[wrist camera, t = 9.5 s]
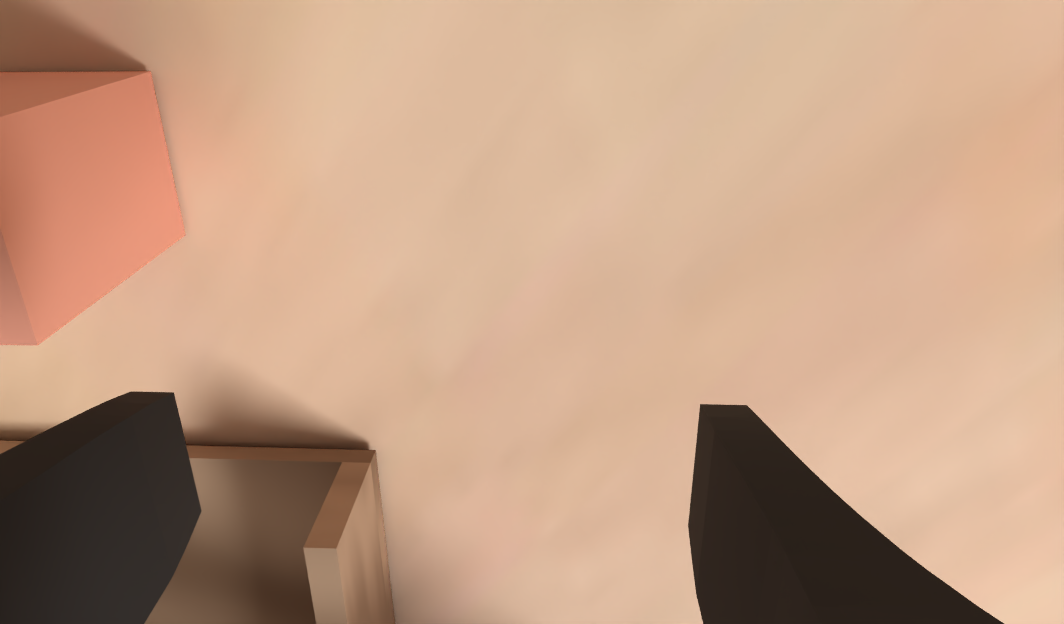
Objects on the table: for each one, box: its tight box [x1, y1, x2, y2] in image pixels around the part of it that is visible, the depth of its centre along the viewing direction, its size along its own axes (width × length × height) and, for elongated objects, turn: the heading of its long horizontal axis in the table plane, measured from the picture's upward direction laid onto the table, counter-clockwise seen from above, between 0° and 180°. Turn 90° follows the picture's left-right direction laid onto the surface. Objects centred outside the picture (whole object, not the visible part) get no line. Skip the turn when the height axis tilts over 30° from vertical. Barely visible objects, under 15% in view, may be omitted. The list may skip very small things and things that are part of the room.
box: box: [0, 441, 395, 624], centre depth 23 cm, size 9×13×4 cm
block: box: [0, 71, 185, 345], centre depth 16 cm, size 4×4×6 cm
